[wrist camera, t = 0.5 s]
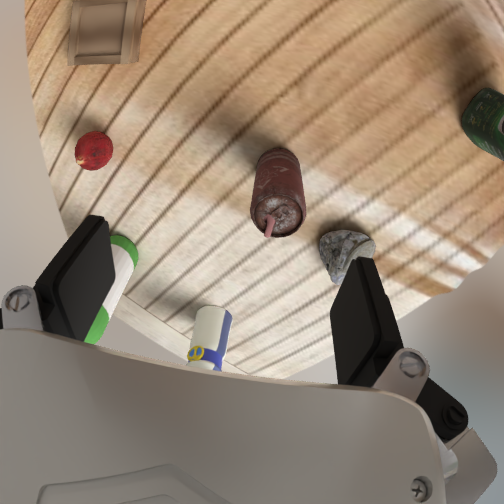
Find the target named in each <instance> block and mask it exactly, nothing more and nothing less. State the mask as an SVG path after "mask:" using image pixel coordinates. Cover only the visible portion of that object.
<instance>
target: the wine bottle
mask: <svg viewBox="0 0 504 504" xmlns="http://www.w3.org/2000/svg"><path fill="white" fill-rule="evenodd" d="M110 240H111V248H112V254H113V261H114V267H115V273H116V277H115V282H114V284H113V286H112V287H111V289H110V291H109V293H108V295H107V297H106V299H105V301H104V302H103V304H102V306H101V308H100V310H99V312H98V314H97V316H96V318H95V320H94V322H93V324H92V326H91V328H90V330H89V332H88V334H87V336H86V338H85V341H84V342H86V343H90V344H95V343H96V342H97V341H98V340H99V339H100V338H101V336H102V335H103V332H104V330H105V328H106V326H107V324H108V322H109V320H110V318H111V315H112V313H113V311H114V309H115V307H116V305H117V303H118V301H119V299H120V297H121V295H122V293H123V291H124V288H125V286H126V284H127V282H128V280H129V278H130V277H131V275H132V273H133V270H134V268H135V266H136V264H137V261H138V251H137V249H136V247H135V245H134V244H133V243H132V242H131V241H130V240H128V239H127V238H125V237H123V236H119V235H113V236H110Z"/></svg>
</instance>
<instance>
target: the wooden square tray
mask: <svg viewBox="0 0 504 504" xmlns="http://www.w3.org/2000/svg"><path fill="white" fill-rule="evenodd" d="M145 5H146V0H76V1H73V7H72V15H71V24H70V34H69V47H68V64H67V66H70V65H87V64H130V63H134V62H138V59H139V50H140V41H141V33H142V26H143V18H144V12H145Z"/></svg>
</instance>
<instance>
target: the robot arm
mask: <svg viewBox="0 0 504 504" xmlns="http://www.w3.org/2000/svg"><path fill="white" fill-rule="evenodd" d="M115 277H116V273H115V267H114V261H113V254H112V248H111V240H110V233H109V225H108V222H107V221H105V219H104V217H102V216H96V215H89V216H88V217H87V218H86V219H85V220H84V221H83V222H82V224H81V225H80V226H79V227H78V228H77V229H76V231H75V232H74V233H73V234H72V235H71V237H70V238H69V239H68V240H67V242H66V243H65V244H64V245H63V247H62V248H61V249H60V250H59V252H58V253H57V254H56V256H55V257H54V258H53V259H52V261H51V262H50V263H49V265H48V266H47V267H46V269H45V270H44V271H43V273H42V274H41V275H40V277H39V278H38V279H37V281H36V282H35V283H36V284H35V286H34V287H33V288H31V287H29V286H23V285H22V286H17V287H15V288H13V289H11V290H10V291H9V292H7V294H6V295H5V296H4V298H3V300H2V308H0V504H474V503H475V502H476V501H477V500H478V499H479V497H480V496H481V495H482V494H483V493H484V491H485V490H486V489H487V488H488V487H489V485H490V484H491V483H492V482H493V481H494V479H495V477H496V475H497V463H496V461H495V459H494V458H493V456H492V455H491V453H490V452H489V450H488V449H487V447H486V446H485V445H484V443H483V442H482V440H481V439H480V438H479V436H478V435H477V433H476V432H475V430H474V429H473V428H471V429H469V428H468V427H467V425H468V415H467V411H466V410H465V408H464V407H463V406H462V404H460V403H459V402H458V401H457V400H456V399H454V398H453V397H452V396H451V395H450V394H448V393H447V392H446V391H445V390H443V389H442V388H441V387H440V386H439V385H437V384H436V383H435V382H434V381H432V380H431V379H430V378H429V377H428V376H429V372H430V368H429V364H428V361H427V360H426V358H425V357H424V356H423V355H422V354H421V353H420V352H419V351H417V350H415V349H412V348H404V347H403V343H402V339H401V336H400V332H399V330H398V326H397V322H396V319H395V316H394V313H393V310H392V307H391V304H390V301H389V298H388V296H387V295H386V294H385V291H384V288H383V286H382V283H381V280H380V277H379V274H378V271H377V268H376V265H375V263H374V260H373V259H372V258H367V257H361V256H358V257H357V258H356V259H352V261H351V263H350V265H349V267H348V270H347V272H346V275H345V277H344V279H343V282H342V284H341V287H340V289H339V291H338V293H337V296H336V298H335V300H334V303H333V305H332V307H331V310H330V321H331V329H332V336H333V344H334V352H335V361H336V370H337V379H338V384H327V383H314V382H304V381H293V380H283V379H274V378H265V377H257V376H250V375H242V374H235V373H228V372H222V371H215V370H209V369H203V368H198V367H192V366H187V365H181V364H176V363H171V362H166V361H161V360H156V359H152V358H147V357H142V356H138V355H134V354H129V353H125V352H121V351H117V350H113V349H109V348H105V347H101V346H97V345H94V344H90V343H86V342H84V341H85V338H86V336H87V334H88V332H89V330H90V328H91V326H92V324H93V322H94V320H95V318H96V316H97V314H98V312H99V310H100V308H101V306H102V304H103V302H104V301H105V299H106V297H107V295H108V293H109V291H110V289H111V287H112V286H113V284H114V282H115Z"/></svg>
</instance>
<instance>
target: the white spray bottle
mask: <svg viewBox="0 0 504 504" xmlns="http://www.w3.org/2000/svg"><path fill="white" fill-rule="evenodd" d="M231 325H232V316H231V314H230V313H229V312H228V311H227V310H225V309H223V308H221V307H218V306H204V307H202V308H200V309H199V310H198V311H197V314H196V319H195V325H194V330H193V334H192V339H191V343H190V350H189V352H188V355H187V358H188V360H189V361H188V363H187V364H186V365H187V366H192V367H198V368H203V369H209V370H215V371H222V370H221V366H222V361H223V359H224V357H225V355H226V350H227V344H228V339H229V334H230V329H231Z"/></svg>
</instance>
